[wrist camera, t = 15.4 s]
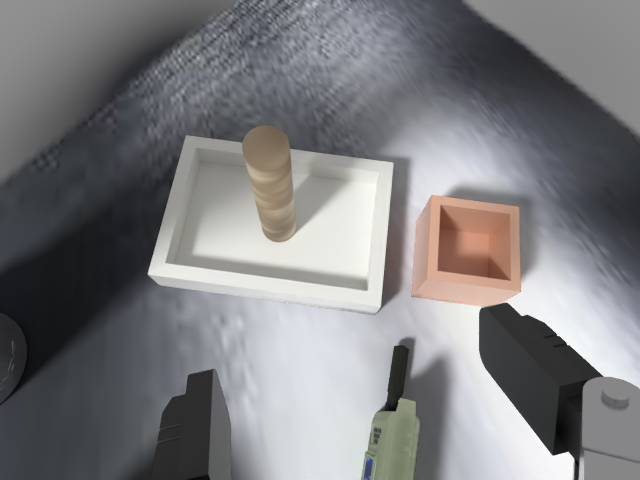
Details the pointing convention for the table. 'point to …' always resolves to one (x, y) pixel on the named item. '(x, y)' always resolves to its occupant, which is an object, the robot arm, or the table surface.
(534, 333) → the robot arm
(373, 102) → the table surface
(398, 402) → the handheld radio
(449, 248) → the pot
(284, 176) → the dowel pin
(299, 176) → the tray
